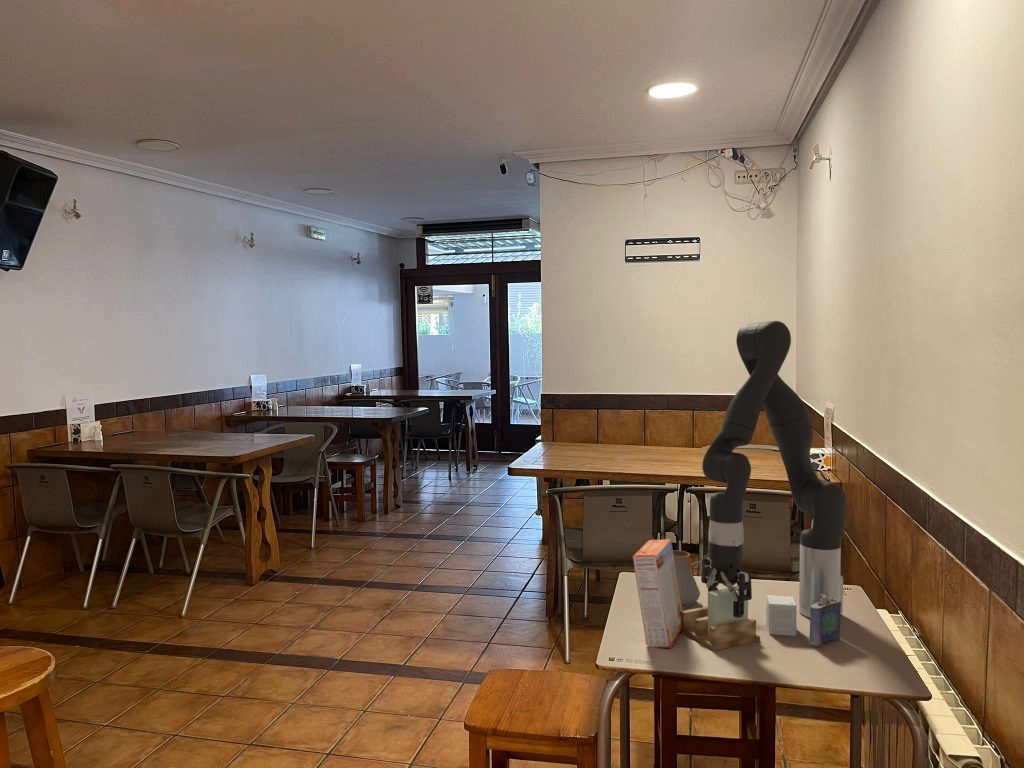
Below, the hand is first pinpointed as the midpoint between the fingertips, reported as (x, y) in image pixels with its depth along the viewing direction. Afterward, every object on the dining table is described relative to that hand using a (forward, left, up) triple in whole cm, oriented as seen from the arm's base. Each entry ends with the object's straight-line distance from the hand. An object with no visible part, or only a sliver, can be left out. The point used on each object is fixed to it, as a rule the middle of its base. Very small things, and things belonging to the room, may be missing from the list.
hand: (725, 610), depth 164 cm
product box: (-15, +1, -7) cm, 17 cm away
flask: (-19, +10, -7) cm, 23 cm away
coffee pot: (-8, -21, -7) cm, 23 cm away
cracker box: (+11, -7, -7) cm, 15 cm away
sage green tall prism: (-1, 0, -6) cm, 6 cm away
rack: (0, -3, -7) cm, 7 cm away
